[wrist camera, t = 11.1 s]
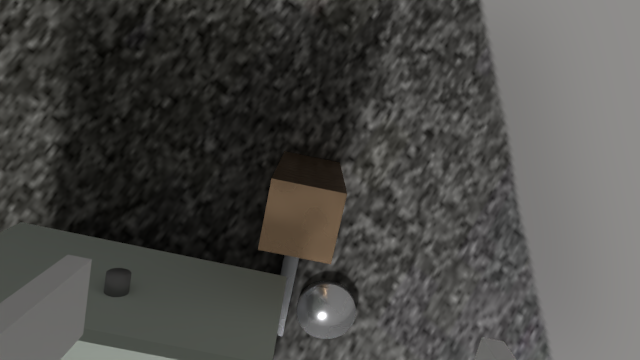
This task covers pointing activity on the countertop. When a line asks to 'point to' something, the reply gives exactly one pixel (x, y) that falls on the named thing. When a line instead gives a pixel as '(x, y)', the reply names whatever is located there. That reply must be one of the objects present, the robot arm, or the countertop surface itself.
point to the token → (326, 309)
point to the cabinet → (152, 299)
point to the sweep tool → (302, 215)
